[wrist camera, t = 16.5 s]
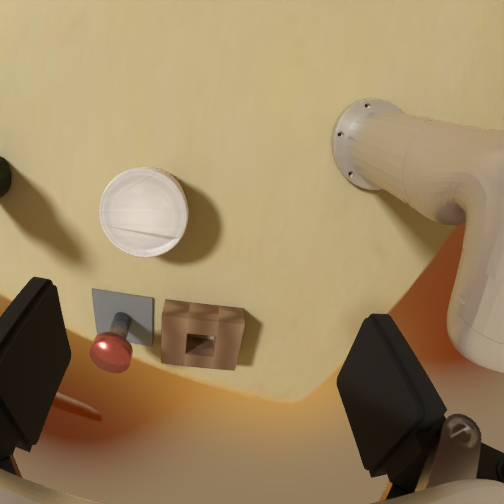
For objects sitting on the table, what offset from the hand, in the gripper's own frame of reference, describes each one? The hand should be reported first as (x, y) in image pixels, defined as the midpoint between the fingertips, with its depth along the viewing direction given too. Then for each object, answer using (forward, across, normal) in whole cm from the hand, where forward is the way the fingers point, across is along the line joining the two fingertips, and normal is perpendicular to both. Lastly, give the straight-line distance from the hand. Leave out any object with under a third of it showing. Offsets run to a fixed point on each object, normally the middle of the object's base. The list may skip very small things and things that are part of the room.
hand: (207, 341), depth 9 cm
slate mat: (+33, +13, +27) cm, 45 cm away
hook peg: (+32, +13, +27) cm, 44 cm away
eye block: (+33, 0, +28) cm, 43 cm away
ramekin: (+33, +8, +7) cm, 35 cm away
